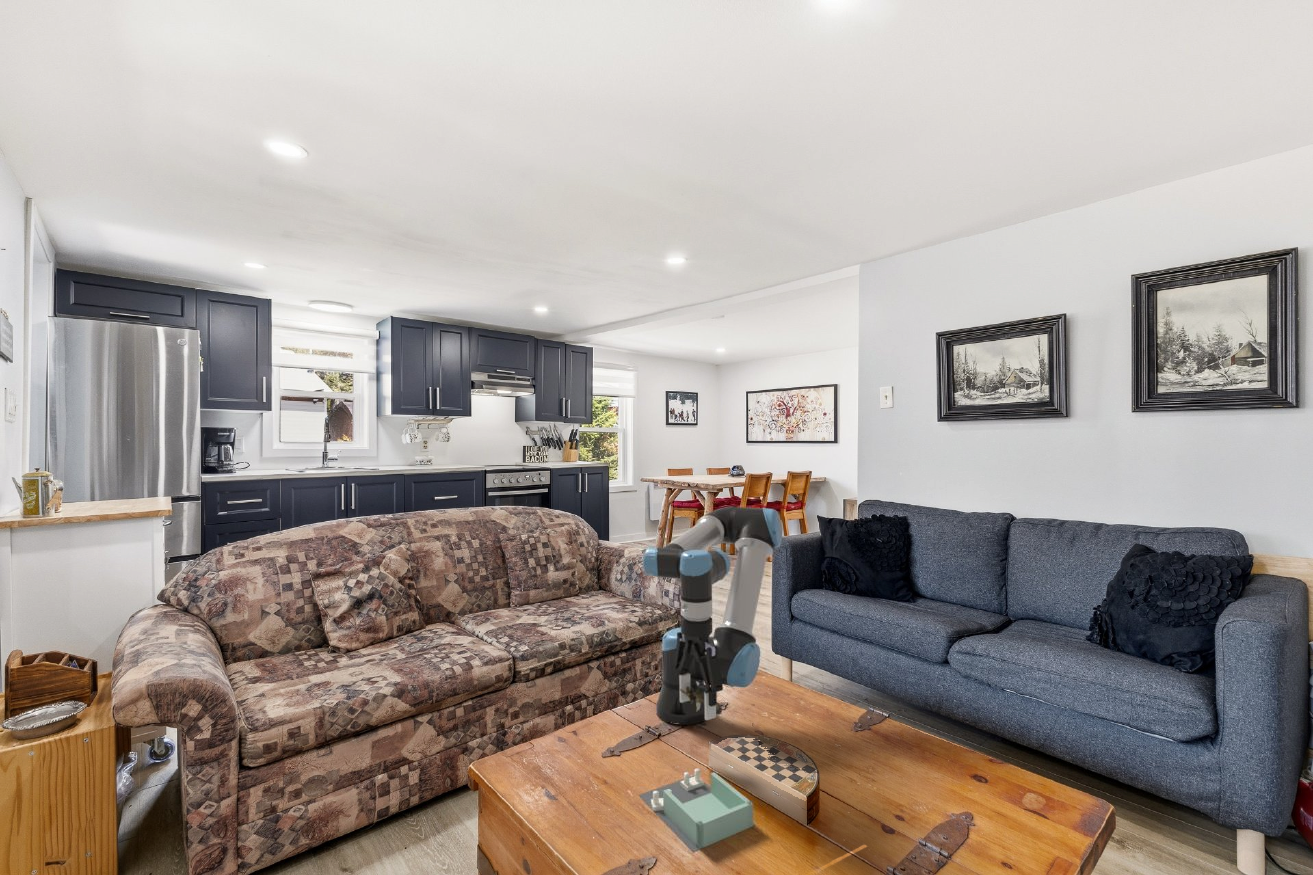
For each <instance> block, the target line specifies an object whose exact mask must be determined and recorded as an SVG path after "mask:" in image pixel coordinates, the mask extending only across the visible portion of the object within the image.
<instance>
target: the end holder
mask: <svg viewBox="0 0 1313 875" xmlns="http://www.w3.org/2000/svg"><path fill="white" fill-rule="evenodd" d="M710 787H711V793H710V794H707V795H704V796H702V797H699V798H696V799H694V800H691V801H689V802H686V803H683V804H682V803H681V802H680V801H679V800H678V799H677V798H676V797H675V796H674V795H673V794H672V793H671V792H670V791H669V790H668V789H667V790H664V791H663V813H664V814H665V815H666V816H667V817H668V818H669V819H670V820H671V821H672V822H673V823H674V824H675V825H676V826H677V827H678V828H679V829H680V830H681V831H682V832H683V833H684V834H685V835H686V836H687V837H688V838H689V839H690V840H691V841H692V842H693V843H694V844H695V845H696V846H697V847H698V848H699V850H701V848H702V849H704V848H706V847H708V845H709V846H711V845H713V844H715V842H716V843H718V842H721V841H722V839H723V840H725V839H727V838H729V836H730V837H732V836H734V835H736V833H737V834H738V832H739V833H740V832H743V831H746V830H748V829H750V828H752V826H753V824H754V803H753V802H752V801H751V800H749V799H748V798H747V797H746V796H745V795H743V794H742V793H741V792H739V791H738V790H737V789H735V787H733V786H732V785H731V784H730V783H729V782H727V781H726V780H724V779H723V778H722V777H721V776H719V775H718V774H717V773H716V772H712V773H710ZM753 827H754V826H753ZM747 828H748V829H747ZM745 829H746V830H745ZM731 835H732V836H731ZM724 838H725V839H724ZM717 841H718V842H717ZM710 844H711V845H710Z"/></svg>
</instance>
